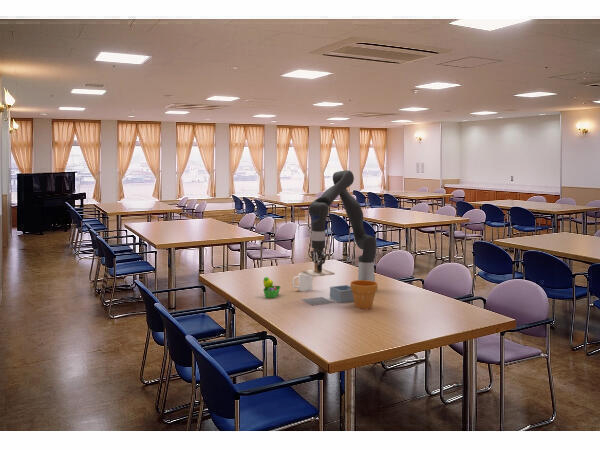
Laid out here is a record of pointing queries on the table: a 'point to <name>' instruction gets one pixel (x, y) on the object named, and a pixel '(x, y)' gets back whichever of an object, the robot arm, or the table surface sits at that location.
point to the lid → (317, 272)
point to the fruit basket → (270, 288)
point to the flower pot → (363, 293)
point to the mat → (317, 301)
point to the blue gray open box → (341, 293)
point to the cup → (304, 282)
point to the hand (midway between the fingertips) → (318, 270)
